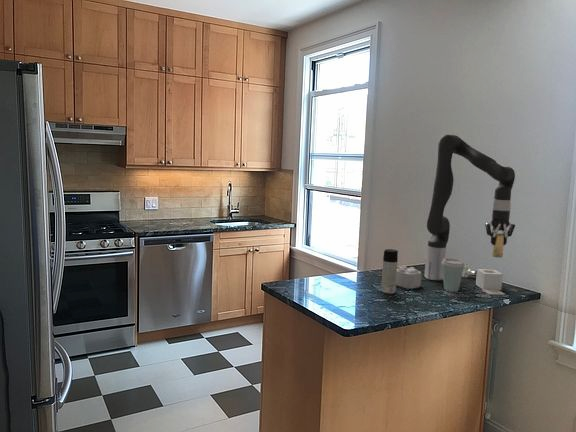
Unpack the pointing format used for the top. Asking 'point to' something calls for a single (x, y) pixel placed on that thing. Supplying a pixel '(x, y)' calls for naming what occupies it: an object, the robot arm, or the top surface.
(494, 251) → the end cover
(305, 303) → the top surface
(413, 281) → the lumpy-topped squat cylinder
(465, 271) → the valve
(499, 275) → the box
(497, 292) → the mat
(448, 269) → the disposable coffee cup
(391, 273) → the spray can
